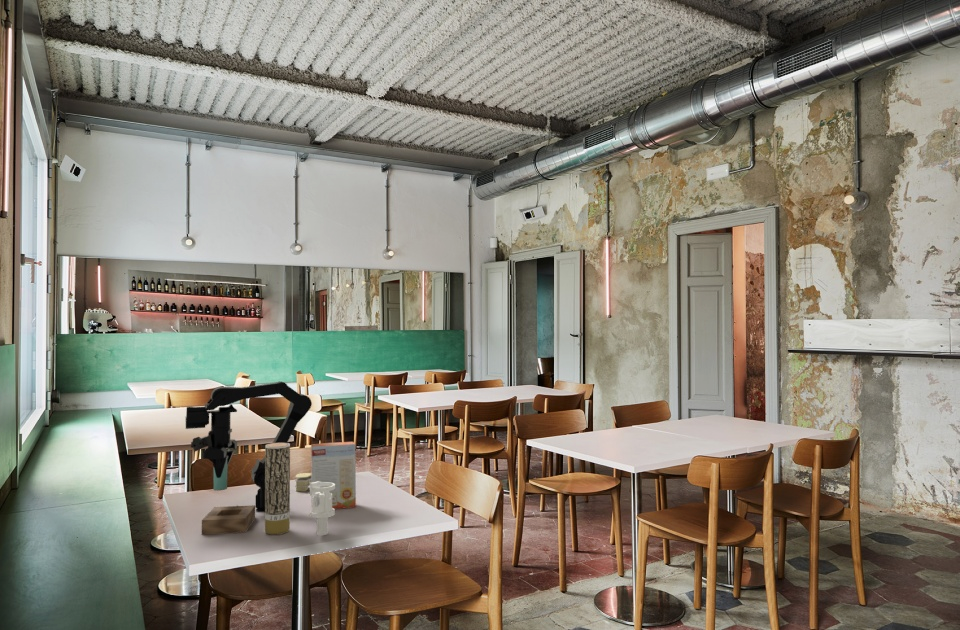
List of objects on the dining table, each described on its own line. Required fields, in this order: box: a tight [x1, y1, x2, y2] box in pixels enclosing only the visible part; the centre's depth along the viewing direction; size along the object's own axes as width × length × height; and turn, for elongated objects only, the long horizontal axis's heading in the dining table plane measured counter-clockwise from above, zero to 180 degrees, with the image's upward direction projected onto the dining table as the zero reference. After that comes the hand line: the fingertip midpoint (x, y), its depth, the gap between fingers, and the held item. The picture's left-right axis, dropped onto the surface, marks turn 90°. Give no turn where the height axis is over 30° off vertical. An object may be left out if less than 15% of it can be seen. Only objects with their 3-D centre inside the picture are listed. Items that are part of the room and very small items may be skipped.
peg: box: [213, 461, 228, 492], centre depth 205 cm, size 4×4×10 cm
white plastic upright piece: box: [309, 481, 336, 536], centre depth 184 cm, size 7×7×15 cm
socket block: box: [201, 504, 256, 535], centre depth 192 cm, size 12×14×4 cm
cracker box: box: [310, 441, 357, 510], centre depth 212 cm, size 14×6×21 cm, turn 108°
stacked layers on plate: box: [294, 472, 311, 492], centre depth 237 cm, size 10×9×6 cm
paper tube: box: [264, 442, 291, 536], centre depth 186 cm, size 7×7×25 cm
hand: (220, 476), depth 205 cm, fingers closed on peg, 4 cm apart
